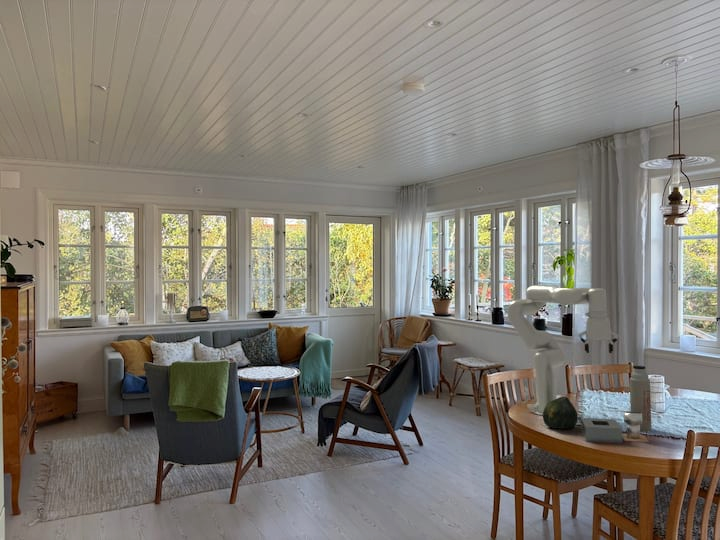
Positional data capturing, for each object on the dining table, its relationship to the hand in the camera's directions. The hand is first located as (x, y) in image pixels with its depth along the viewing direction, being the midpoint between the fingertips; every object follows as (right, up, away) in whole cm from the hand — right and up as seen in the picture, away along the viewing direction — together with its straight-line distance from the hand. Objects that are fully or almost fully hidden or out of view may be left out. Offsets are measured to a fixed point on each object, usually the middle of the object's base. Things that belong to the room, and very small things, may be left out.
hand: (598, 352), depth 243 cm
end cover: (+6, -33, -19) cm, 38 cm away
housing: (-7, -33, -17) cm, 38 cm away
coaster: (+6, -33, -19) cm, 39 cm away
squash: (-18, -34, -1) cm, 39 cm away
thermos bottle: (+16, -33, -7) cm, 37 cm away
